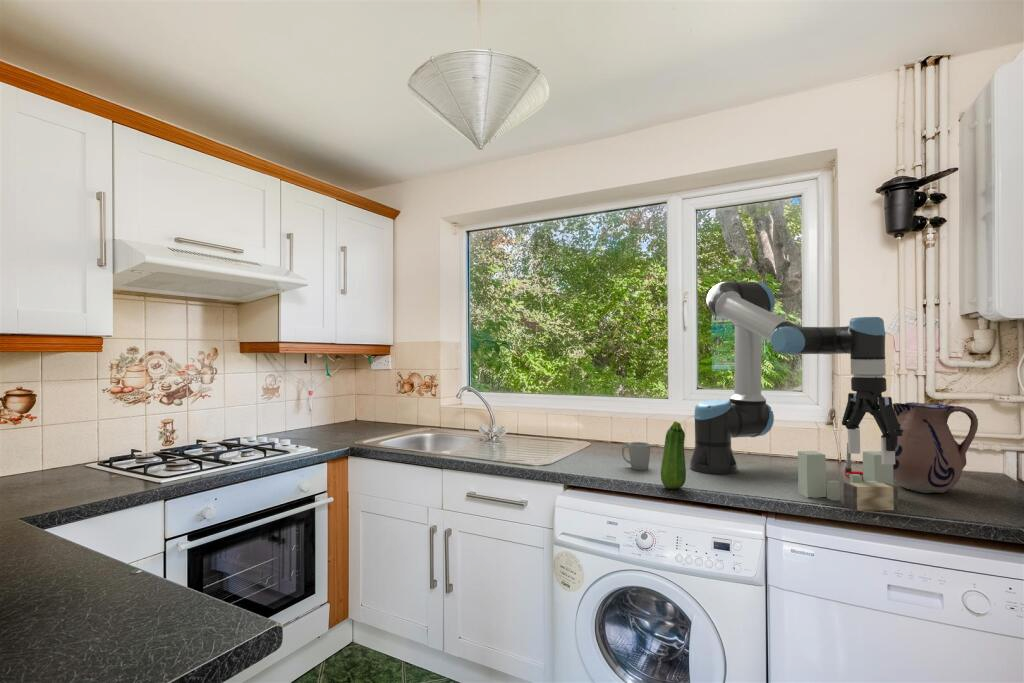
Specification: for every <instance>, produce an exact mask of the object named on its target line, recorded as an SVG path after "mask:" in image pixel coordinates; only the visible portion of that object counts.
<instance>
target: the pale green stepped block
mask: <svg viewBox="0 0 1024 683" xmlns="http://www.w3.org/2000/svg"><path fill="white" fill-rule="evenodd" d="M826 463H827V462H826V454H825V453H822V452H820V451H816V450H797V480H798V481H797V483H798V484H797V487H798V488H797V491H798V492H799V493H800V495H801V494H802V495H801V496H803V495H804V496H803V497H805V496H806V497H805V498H807V497H826V499H827V498H828V499H827V500H829V499H832V500H831V501H840V500H841V499H840V498H841V496H840V495H841V494H840V493H841V492H840V481H838V480H827V471H826V470H827V469H826V467H827V466H826ZM798 492H797V493H798ZM799 493H798V494H799ZM834 499H835V500H834Z"/></svg>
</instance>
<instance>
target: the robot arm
mask: <svg viewBox="0 0 1024 683" xmlns="http://www.w3.org/2000/svg"><path fill="white" fill-rule="evenodd" d="M775 304H776V298H775V294H774V291H773V289H771V287H770V286H769V285H767V284H766V283H762V282H756V281H723V282H719V283H717V284H715V285H714V286H712V287H711V289H709V291H708V293H707V295H706V305H707V309H709V311H710V312H711V313H712V314H713V315H715V316H716V317H718V318H720V319H723V320H730V322H731V323H732V325H734V381H733V383H734V389H733V392H734V393H733V394H732V395H731V396H729V400H728V399H715V400H714V399H712V400H704V401H701V402H698V403H696V405H695V407H694V414H693V418H694V448H693V450H692V454H691V457H690V460H689V468H690V469H691V470H693V471H696V472H700V473H703V474H704V473H705V474H712V475H713V474H714V475H729V474H734V473H735V474H736V472H738V463H737V461H736V457H735V455H734V453H733V448H732V438H733V439H734V438H756V437H762V436H765V435H767V434H768V432H770V431H771V429H772V427H773V426H774V425H773V424H774V421H775V419H774V418H775V416H774V412H773V410H772V408H771V406H770V405H769V404H768V403H767V398H765V397H764V395H763V394H762V353H763V351H762V350H763V349H762V345H763V344H762V342H763V341H762V340H763V339H764V340H767V341H768V342H769V343H770V345H771V347H772V348H773V350H774V352H776V353H778V354H781V355H789V356H794V355H835V354H836V355H844V354H845V355H846V354H847V355H850V375H851V378H850V387H851V388H850V389H851V391H853V393H852V392H849V393H848V395H847V403H846V406H845V409H844V414H843V417H842V421H841V426H845V428H846V429H847V443H848V453H850V454H851V455H853V454H855V455H856V454H858V455H860V454H861V432H860V431H861V430H860V425H861V422H862V421H863V419H864V417H865V416H866V413H868V414H870V415H871V416H872V417H873V418H874V420H875V422H876V424H877V426H878V428H879V430H880V432H881V433H882V435H881V437H880V446H881V448H880V450H881V453H882V464H895V438H896V437H898V436H902V431H901V428H900V426H899V423H898V420H897V417H896V414H895V412H894V408H893V405H892V404H893V399H892V397H891V396H883V395H882V394H883V393H885V392H887V378H886V377H884V376H885V375H887V371H886V369H887V367H886V334H887V333H886V329H885V321H884V319H883V318H882V317H880V316H861V317H853V318H850V320H849V325H847V326H800V325H797V324H796V323H793V322H791V321H790V320H788V319H785V318H784V317H781V316H779V315H777V314H775V313H773V310H774V309H775ZM855 392H856V393H855ZM895 430H896V431H895Z"/></svg>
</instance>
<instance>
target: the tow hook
mask: <svg viewBox="0 0 1024 683" xmlns="http://www.w3.org/2000/svg"><path fill="white" fill-rule="evenodd" d="M845 458H846V459H845V466H844V470H843V472H844V474H845V476H846V477H847V478H848V477H849V478H848V479H850V474H859V475H860V474H861V475H862V480H863V471H859V470H858V471H857V470H852V454H850V453H848V442H846V456H845Z"/></svg>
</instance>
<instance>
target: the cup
mask: <svg viewBox="0 0 1024 683" xmlns="http://www.w3.org/2000/svg"><path fill="white" fill-rule="evenodd" d="M651 446H652V444H651V443H649V442H645V441H644V442H643V441H632V442H629V443H628V444H626V445H624V446H623V447H622V450H621V454H622V459H624V461H625V462H626V463H628V464H629V465H630V466H631V469H632V468H633V470H635V469H637V470H636V471H646V469H647V470H648V469H649V465H650V457H651ZM625 448H627V449H628V452H629V453H628V454H629V459H628V458H626V456H625V453H624V452H625Z"/></svg>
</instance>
